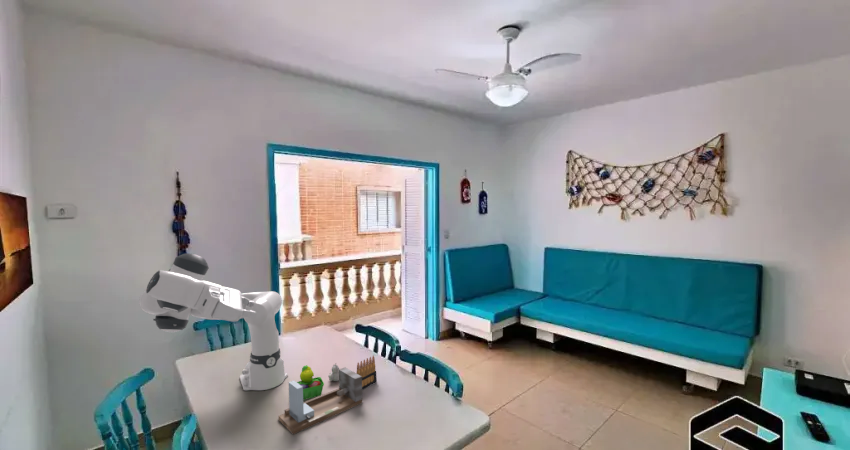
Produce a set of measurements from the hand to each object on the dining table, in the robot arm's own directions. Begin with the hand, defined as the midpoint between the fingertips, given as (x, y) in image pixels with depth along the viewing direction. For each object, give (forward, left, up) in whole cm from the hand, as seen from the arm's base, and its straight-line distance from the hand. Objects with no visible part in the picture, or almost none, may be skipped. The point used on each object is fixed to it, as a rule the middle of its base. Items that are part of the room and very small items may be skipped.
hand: (254, 309), depth 121 cm
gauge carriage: (+3, +15, -41) cm, 44 cm away
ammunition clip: (-3, +46, -43) cm, 63 cm away
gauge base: (+1, +23, -43) cm, 49 cm away
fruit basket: (-14, +25, -43) cm, 52 cm away
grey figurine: (-17, +39, -43) cm, 60 cm away
